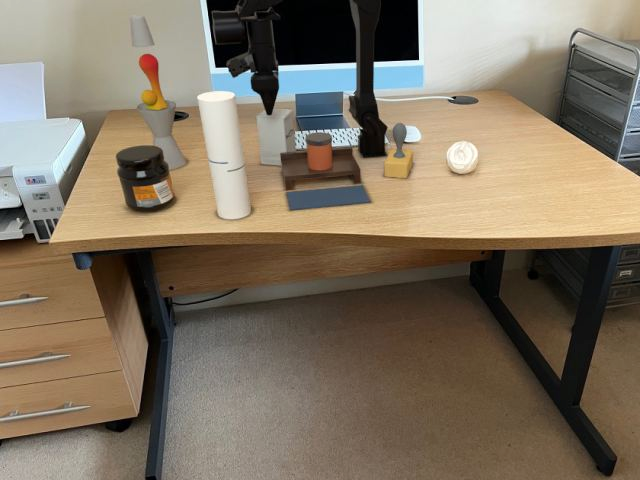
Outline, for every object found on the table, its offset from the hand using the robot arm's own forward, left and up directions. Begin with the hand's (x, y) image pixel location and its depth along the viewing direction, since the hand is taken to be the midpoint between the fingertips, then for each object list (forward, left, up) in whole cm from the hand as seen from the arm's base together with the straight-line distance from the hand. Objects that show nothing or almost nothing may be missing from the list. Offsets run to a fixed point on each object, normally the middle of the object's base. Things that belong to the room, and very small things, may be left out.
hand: (269, 109), depth 141 cm
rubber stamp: (-30, +11, -14) cm, 35 cm away
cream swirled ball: (-45, +16, -14) cm, 50 cm away
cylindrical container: (+11, +26, -14) cm, 31 cm away
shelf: (-10, +11, -14) cm, 21 cm away
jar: (-10, +12, -11) cm, 19 cm away
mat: (-10, +23, -14) cm, 29 cm away
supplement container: (+29, +18, -14) cm, 37 cm away
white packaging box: (-1, -2, -14) cm, 14 cm away
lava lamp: (+27, -6, -14) cm, 31 cm away
